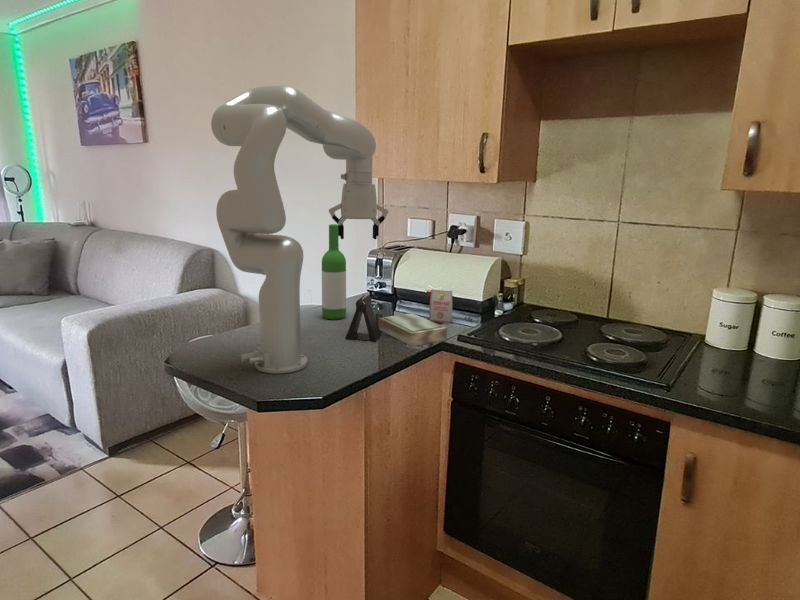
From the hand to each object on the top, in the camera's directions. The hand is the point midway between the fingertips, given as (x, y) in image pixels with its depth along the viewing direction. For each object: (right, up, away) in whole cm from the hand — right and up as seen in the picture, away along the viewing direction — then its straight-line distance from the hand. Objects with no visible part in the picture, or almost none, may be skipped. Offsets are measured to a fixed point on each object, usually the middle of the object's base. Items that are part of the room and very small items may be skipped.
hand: (358, 238), depth 156 cm
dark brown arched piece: (+2, -29, -3) cm, 29 cm away
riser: (+16, -28, +1) cm, 32 cm away
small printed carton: (+25, -25, +17) cm, 39 cm away
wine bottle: (-9, -24, +17) cm, 31 cm away
